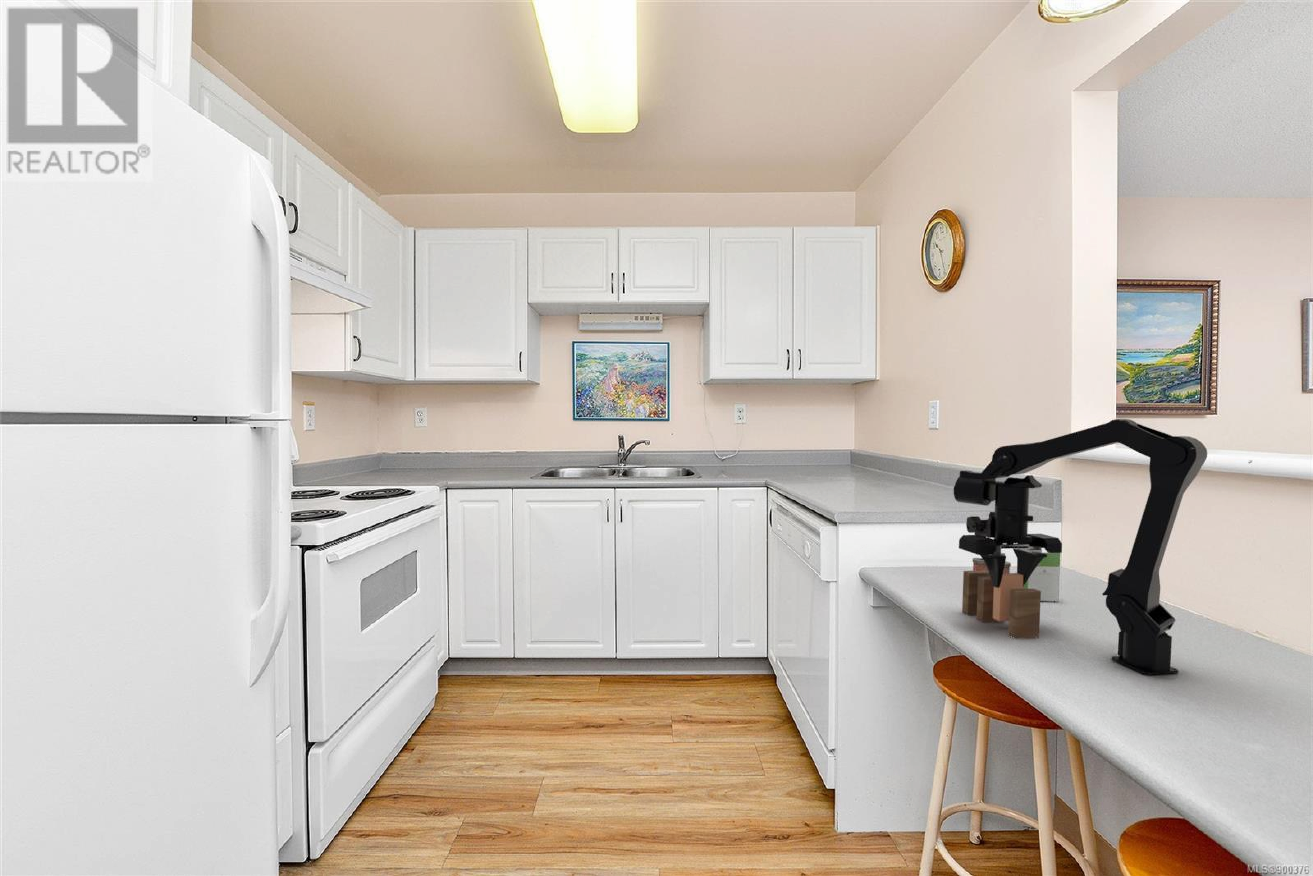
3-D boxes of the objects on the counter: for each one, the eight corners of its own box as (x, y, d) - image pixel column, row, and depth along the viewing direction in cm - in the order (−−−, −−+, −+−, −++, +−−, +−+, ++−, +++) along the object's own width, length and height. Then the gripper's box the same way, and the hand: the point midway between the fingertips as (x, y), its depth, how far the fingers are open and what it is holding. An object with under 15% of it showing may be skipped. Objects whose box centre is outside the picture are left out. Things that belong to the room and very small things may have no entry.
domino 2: (1004, 621, 122) (1006, 578, 122) (982, 622, 122) (984, 579, 121) (998, 618, 124) (999, 576, 124) (976, 619, 123) (978, 576, 123)
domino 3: (992, 618, 119) (994, 573, 119) (1015, 617, 120) (1016, 573, 119) (999, 621, 117) (1000, 576, 117) (1021, 620, 118) (1023, 575, 118)
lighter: (1009, 592, 143) (1011, 551, 143) (1009, 595, 140) (1011, 554, 140) (972, 586, 148) (973, 546, 147) (970, 590, 145) (972, 549, 144)
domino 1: (988, 614, 127) (990, 572, 127) (967, 615, 126) (969, 573, 126) (983, 611, 129) (984, 570, 128) (962, 612, 128) (963, 571, 128)
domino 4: (1039, 637, 114) (1040, 591, 113) (1015, 639, 113) (1017, 592, 112) (1031, 634, 115) (1033, 588, 115) (1008, 635, 115) (1010, 589, 114)
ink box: (1049, 597, 140) (1052, 540, 139) (1059, 602, 136) (1061, 544, 135) (1018, 596, 141) (1020, 539, 140) (1027, 601, 137) (1029, 543, 136)
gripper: (1022, 502, 127) (1019, 574, 128) (942, 503, 124) (940, 577, 125) (1065, 510, 116) (1062, 589, 117) (979, 511, 113) (976, 593, 114)
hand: (1008, 586), depth 118 cm, fingers closed on domino 3, 5 cm apart
